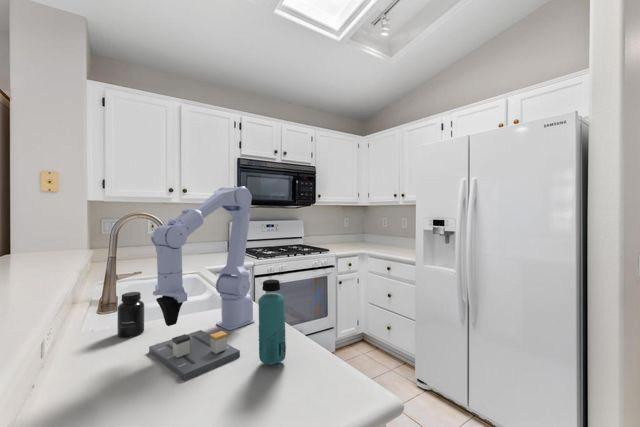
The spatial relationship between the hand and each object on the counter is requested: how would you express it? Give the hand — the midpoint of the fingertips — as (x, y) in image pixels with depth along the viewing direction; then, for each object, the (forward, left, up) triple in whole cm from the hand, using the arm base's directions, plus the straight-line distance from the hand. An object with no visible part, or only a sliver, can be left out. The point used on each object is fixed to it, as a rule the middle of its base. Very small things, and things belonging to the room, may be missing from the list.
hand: (171, 324), depth 77 cm
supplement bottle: (+3, -22, -8) cm, 23 cm away
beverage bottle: (-13, +24, -8) cm, 28 cm away
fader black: (0, +6, -6) cm, 8 cm away
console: (-3, +5, -7) cm, 10 cm away
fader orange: (-7, +11, -6) cm, 14 cm away
